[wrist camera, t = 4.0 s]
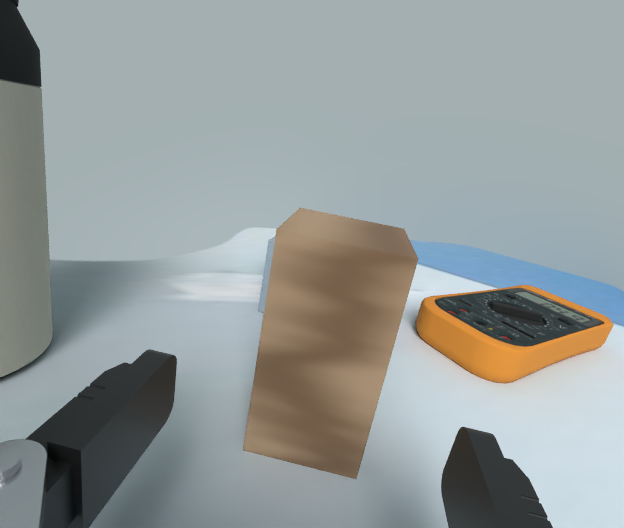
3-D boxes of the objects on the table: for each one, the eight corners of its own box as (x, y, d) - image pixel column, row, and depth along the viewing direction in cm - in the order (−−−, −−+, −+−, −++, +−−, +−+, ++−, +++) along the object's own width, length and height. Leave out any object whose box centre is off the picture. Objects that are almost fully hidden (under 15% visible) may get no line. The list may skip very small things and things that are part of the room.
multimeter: (399, 332, 31) (410, 293, 30) (515, 310, 41) (526, 281, 40) (494, 398, 24) (512, 352, 23) (604, 352, 34) (620, 319, 33)
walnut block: (243, 450, 16) (276, 229, 13) (270, 382, 21) (300, 207, 18) (356, 478, 16) (418, 258, 13) (358, 403, 21) (404, 228, 18)
